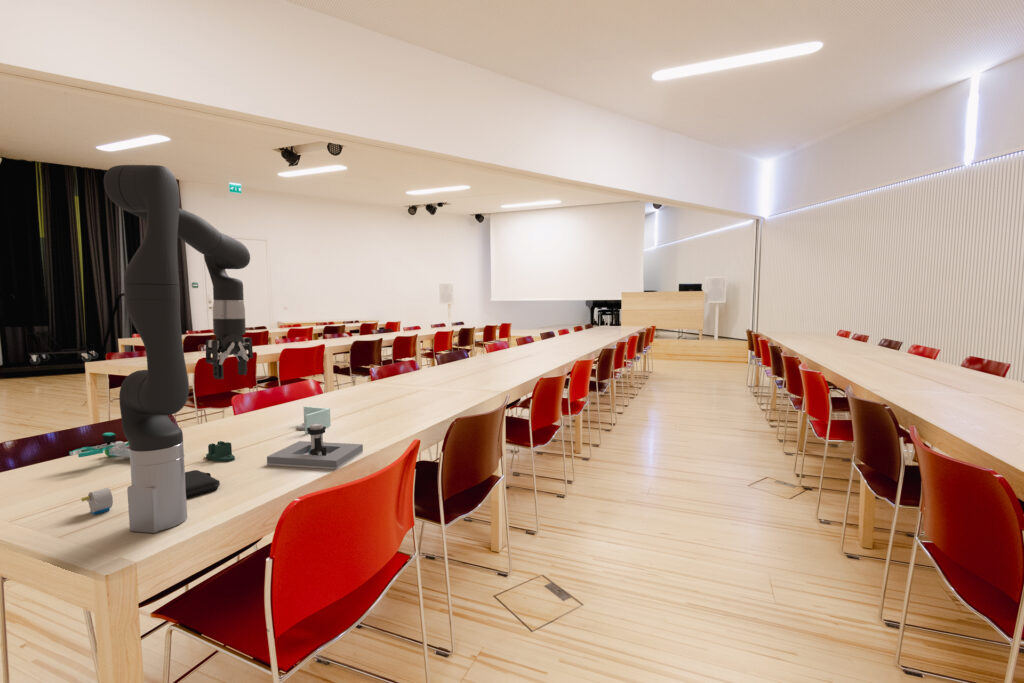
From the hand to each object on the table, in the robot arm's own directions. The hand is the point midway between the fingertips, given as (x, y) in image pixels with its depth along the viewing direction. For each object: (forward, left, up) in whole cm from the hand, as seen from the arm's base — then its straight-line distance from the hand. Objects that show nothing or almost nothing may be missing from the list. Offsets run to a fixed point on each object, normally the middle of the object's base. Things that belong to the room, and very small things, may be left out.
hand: (231, 376), depth 130 cm
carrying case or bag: (-10, +4, -28) cm, 30 cm away
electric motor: (-26, +14, -28) cm, 41 cm away
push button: (+16, -14, -27) cm, 34 cm away
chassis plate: (+17, -14, -27) cm, 35 cm away
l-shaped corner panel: (+48, +9, -28) cm, 56 cm away
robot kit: (+6, +42, -28) cm, 50 cm away
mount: (+12, +15, -28) cm, 34 cm away
